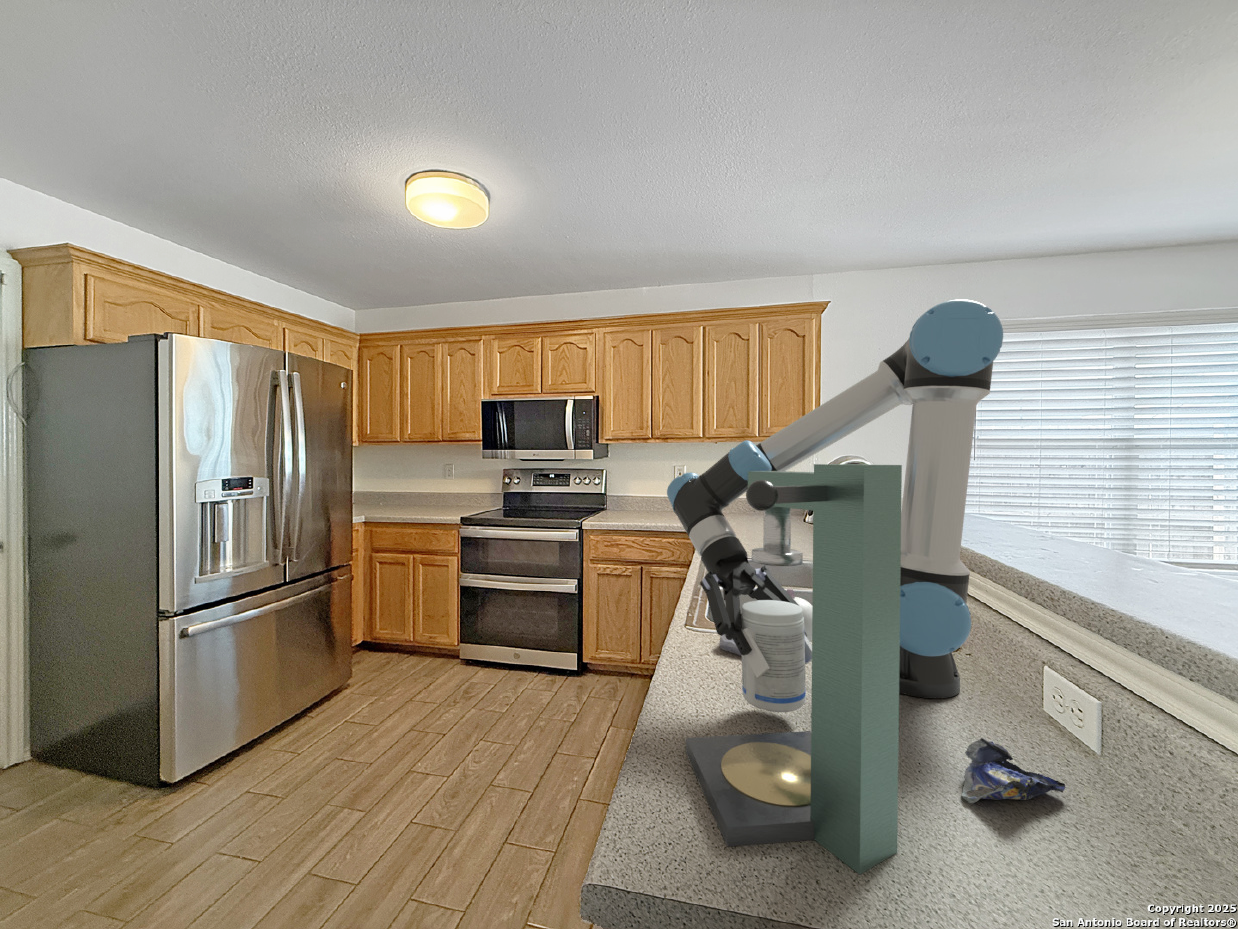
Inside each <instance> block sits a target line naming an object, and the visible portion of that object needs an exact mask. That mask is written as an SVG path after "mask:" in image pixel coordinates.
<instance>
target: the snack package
mask: <svg viewBox="0 0 1238 929" xmlns="http://www.w3.org/2000/svg"><path fill="white" fill-rule="evenodd" d="M964 754H965V755H966V756H967V758H968V759H970V760H971V762H970V763H969V765H968V766H967V767H966V768H965V771H964V775H963V779H964V784H963V785H964V786H963V787H962V793H961V797H962V798H963V799H964V800H965V801H966V802H967V803H968V804H975V803H977V802H978V801H980V800H981V799H983V800H993V802H994V801H995V800H1000V801H1002V800H1017V801H1019V800H1020V801H1027V800H1030V799H1032V798H1035V797H1037V796H1040V795H1043V794H1046V793H1049V792H1050V791H1055V792H1060V793H1064V791H1065V789H1066V784H1065V783H1064V782H1061V781H1058V780H1056V779H1053V778H1051V777H1049V776H1046V775H1045V776H1044V775H1043V774H1041V773H1037V772H1036V773H1035V772H1032V771H1026V770H1024V769H1022V768H1021V767H1020V766H1018V765H1017V764H1014V763H1013V762H1010V761H1013V760H1014V757H1013V756H1011V754H1010V753H1009V751H1008V750H1007V748H1005V747H1003V746H1002V745H1000V744H999V743H994V741H993V740H992V741H988V740H986V739H984V738H983V737H981V738H979V740H976V741H973V742H972V743H971V744H969V745H968V746H967V749H966V750H965V752H964ZM1008 760H1009V761H1008ZM996 786H1000V787H998V788H996ZM984 789H990V790H992V789H993V790H992V791H990V792H987V793H985V794H983V795H982V794H981V795H978V796H970V797H969V795H968V794H967V793H968V792H969V791H971V792H973V791H979V790H984Z"/></svg>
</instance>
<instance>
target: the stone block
mask: <svg viewBox="0 0 1238 929" xmlns="http://www.w3.org/2000/svg"><path fill="white" fill-rule="evenodd" d="M719 649H721V650H722V651H725V650H726V651H725V652H728V651H729V653H732V654H735V655H737V656H740V657H742V654H741V653H740V652H739V650H738V648H737V646H736V644H735V642H734V640H733V639H732V640H728V639H727V638H726V636H725V634H724V635H722V636H720V637H719Z"/></svg>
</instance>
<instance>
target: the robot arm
mask: <svg viewBox="0 0 1238 929" xmlns="http://www.w3.org/2000/svg"><path fill="white" fill-rule="evenodd" d="M1003 341H1004V328H1003V325H1002V322H1001V320H1000V319H999V317H998V315H997V314H996V312H994V311H993V310H992V309H991V308H989V307H988V306H987V305H985V304H983V303H980V302H978V301H976V300H975V301H974V300H970V299H951V300H948V301H943V302H941V303H939V304H936V305H935V306H932V307H930V308H929V309H928V310H927V311H925V312H924V313H923V314H922V315H921V316H919V318H918V319H916V321H915V323H914V324H913V326H912V328H911V331H910V333H909V337H908V339H907V341H905V342H904V343H903V344H902V346H900V347H899V348H898V349H897V350H896V351H895V352H893V353H892V354H891V355H889V356H888V357H886V358H885V359H883V360H882V361H880V362H879V365H878V368H877V369H876V371H874V372H872V373H871V374H869V375H867V376H866V377H864V378H863V379H862V380H860V381H858V382H856V383H855V384H853V385H852V386H850V387H848V388H846V389H845V390H843V391H842V392H840V393H838V394H837V395H835V396H834V397H832V398H830V399H829V400H827V401H826V402H824V403H822V404H821V405H819V406H817V407H816V408H814V409H813V410H811V411H809V412H807V413H806V414H804V415H802V416H801V417H799V418H798V419H796V420H795V421H793V422H791V423H790V424H788V425H787V426H785V427H783V428H782V429H780V430H779V431H777V432H775V433H773V434H771V436H769V437H767V438H766V439H764V440H762V441H761V442H760V443H758V444H755V443H753V442H752V441H751V440H746V439H745V440H743V441H742V442H740V443H738V445H736V446H735V447H732V448H731V449H730V450H729V452H728V453H726V454H725V455H724V456H722V457H721V458H720V459H718V461H717V462H715V463H714V464H713V465H711V467H710V468H708V469H707V470H706V471H704V472H703V473H701V474H700V475H699V474H698V473H696V472H685V473H683V474H681V475H680V476H677V477H676V478H674V479H672V480H671V481H670V483H669V484H668V486H667V490H666V496H667V498H668V501H669V503H670V505H671V507H672V510H673V512H674V514H675V515H676V517H677V518H678V520H679V522H680V523H681V524H680V525H682V527H683V528H684V531H685V532H686V534H687V536H688V538H689V540H690V542H691V544H692V545H693V548H694V549H695V551H696V552H697V554H698V555H699V556H700V559H701V561H702V564H703V565H704V567H705V569H706V572H707V573H706V574H705V575H704V577H703V578H702V580H701V581H700V583H699V585H700V586H701V588H702V590H703V591H704V593H705V595H706V598H707V602H708V606H709V608H710V613H711V617H712V620H713V623H714V627H715V632H716V634H717V635H718V636H720V637H721V636H722V635H724V634H725V636H726V638H727V639H728V640H732V639H733V640H734V642H735V644H736V646H737V648H738V650H739V652H740V653H741V654H742V655H743V656H744V655H745V657H746V659H747V660H748V662H749V664H750V666H751V668H752V670H753V672H754V674H755V675H756V677H757V678H758V677H761V676H762V675H763V674H764V673H765V672H766V671H768V670H769V669H770V667H769V666H768V664H767V662H766V660H765V658H764V657H763V655H762V653H761V651H760V649H759V648H758V646H757V644H756V642H755V641H754V639H753V637H752V635H751V633H750V632H749V630H748V628H746V629H743V630H741V629H742V621H741V613H742V609H741V602H740V601H741V600H740V596H743V595H744V596H747V595H748V597H750V598H751V599H755V600H776V601H784V602H789V603H793V604H796V605H798V604H797V603H796V601H795V600H794V599H793V598H792V597H791V596H790V595H789V594H788V592H787V589H785V588H784V587H783V585H781V584H780V582H779V581H778V580H777V579H776V578H775V577H774V575H773V574H772V572H771V570H770V568H769V567H768V565H762V567H760V568H755V567H754V566H753V565H752V564H751V563H750V562H749V559H748V552H747V550H746V549H745V547H744V546H743V544H742V542H741V541H740V539H739V538H738V537H737V535H736V532H735V530H734V529H733V527H732V526H731V523H729V521H728V519H727V518H726V517H725V515H724V513H723V511H722V510H724V509H725V508H727V507H729V506H730V505H731V503H733V502H735V501H736V500H737V499H738V498H740V497H741V496H742V495H744V494H746V491H747V488H748V471H788V470H790V469H792V468H795V466H797V465H799V464H800V463H802V462H804V461H806V460H807V459H809V458H811V457H813V456H814V455H816V454H817V453H819V452H822V451H823V450H824V449H826V448H828V447H830V446H831V445H833V444H835V443H837V442H838V441H840V440H842V439H844V438H845V437H847V436H849V435H850V434H851V435H852V433H854V432H856V431H858V430H859V429H861V428H862V427H865V426H866V425H868V424H870V423H872V422H873V421H874V420H876V419H879V418H880V417H882V416H884V415H885V414H887V413H889V412H890V411H891V410H894V409H895V408H898V407H899V406H901V405H906V406H911V405H912V406H911V407H912V408H911V418H910V425H909V426H910V427H909V436H908V445H907V455H906V456H907V457H906V465H905V466H906V467H905V475H904V484H903V493H902V501H901V573H900V659H899V694H903V695H906V696H911V697H917V698H925V699H945V698H951V697H952V698H953V697H954V696H957V695H958V694H959V693H960V691H961V677H960V674H959V672H958V668H957V664H956V661H955V659H954V656H953V653H952V652H955V651H956V650H958V649H959V648H960V647H962V645H963V644H965V643H966V641H967V639H968V638H969V636H970V633H971V628H972V618H971V611H970V608H969V607H968V604H967V603H968V594H969V583H970V582H969V581H970V574H971V570H970V569H969V568H968V567H967V566H966V565H965V564H964V562H963V561H962V560H961V558H960V557H961V556H960V555H961V549H962V539H963V531H964V530H963V529H964V528H963V527H964V522H965V521H964V520H965V512H966V502H967V495H968V494H967V493H968V485H969V473H970V465H971V457H972V448H973V438H974V430H975V429H974V428H975V423H976V422H975V420H976V411H977V405H978V403H979V402H980V401H981V400H983V399H984V398H986V397H987V396H989V395H990V393H991V386H992V385H991V384H992V377H993V368H994V361H995V360H996V359H997V357H998V356H999V354H1000V352H1001V348H1002V346H1003ZM756 586H757V587H756ZM720 587H721V588H720ZM721 589H722V590H721ZM722 592H723V594H722ZM798 606H799V605H798ZM810 662H811V663H812V642H811V641H810V642H809V640H808V639H807V634H806V632H805V665H807V664H809V663H810Z"/></svg>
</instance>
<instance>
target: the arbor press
mask: <svg viewBox="0 0 1238 929" xmlns="http://www.w3.org/2000/svg"><path fill="white" fill-rule="evenodd" d="M902 468H903V466H902V464H861V463H860V464H858V463H857V464H853V463H851V464H849V463H848V464H844V463H843V464H842V463H841V464H838V463H837V464H835V463H833V464H832V463H831V464H829V463H826V464H825V463H821V464H819V463H815V464H813V471H788V470H787V471H748V488H747V491H746V492H745V499H746V502H747V504H748V505H749V506H750V507H751V508H752V509H753V510H755V511H759V512H760V511H761V512H763V541H762V542H763V547H756V548H752V549H751V561H752V562H753V563H755V564H759V565H762V566H764V565H765V566H771V567H796V566H800V565H803V564H804V563H803V561H804V559H803V556H804V553H803V552H802V551H801V550H797V549H793V548H791V547H792V546H791V545H792V544H791V543H792V540H791V539H792V538H791V537H792V536H791V535H792V528H791V527H792V509H796V510H802V511H803V510H804V511H813V512H812V513H813V514H812V515H813V520H812V522H813V523H812V525H813V526H812V528H813V529H812V531H813V532H812V602H811V603H812V604H811V605H812V640H811V645H812V661H811V707H810V708H811V710H810V712H811V715H810V716H811V720H810V723H811V724H810V727H811V728H810V729H811V730H805V731H804V730H803V731H801V730H800V731H785V732H771V733H770V732H769V733H753V734H752V733H750V734H733V735H732V734H731V735H729V734H728V735H714V736H698V737H697V736H696V737H685V754H686V756H687V759H688V761H689V763H690V766H691V768H692V770H693V772H694V775H695V776H696V779H697V782H698V783H699V785H700V788H701V791H702V793H703V795H704V797H705V800H706V802H707V805H708V806H709V808H710V810H711V814H712V815H713V816H712V817H714V818H713V819H714V821H715V822H716V825H717V827H718V829H719V831H720V833H721V836H722V839H723V842H724V843H725V844H726V847H740V846H741V847H742V846H753V845H764V844H777V843H790V842H791V843H792V842H801V841H815V842H816V843H818V844H819V845H820V846H822V847H823V848H824V849H825V850H827V851H829V852H830V853H831V854H832V855H833V856H835V857H836V858H837V859H839V860H840V861H841V862H843V863H844V864H845V865H847V866H848V867H849V868H850V869H852V870H853V871H855V872H856V873H857V874H858V875H862V874H863V873H866V872H867V871H868V870H870V869H871V868H873V867H875V866H877V865H878V864H879V865H880V863H882V862H883V861H886V860H887V859H889V858H890V857H892V856H894V855H896V854H898V830H899V829H898V828H899V827H898V826H899V824H898V819H899V818H898V817H899V814H898V813H899V811H898V810H899V806H898V805H899V740H900V738H899V736H900V735H899V733H900V732H899V731H900V730H899V728H900V727H899V724H900V721H899V720H900V718H899V717H900V693H899V659H900V573H901V511H902V486H903V484H902V480H903V479H902V475H903V474H902V472H903V471H902Z"/></svg>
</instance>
